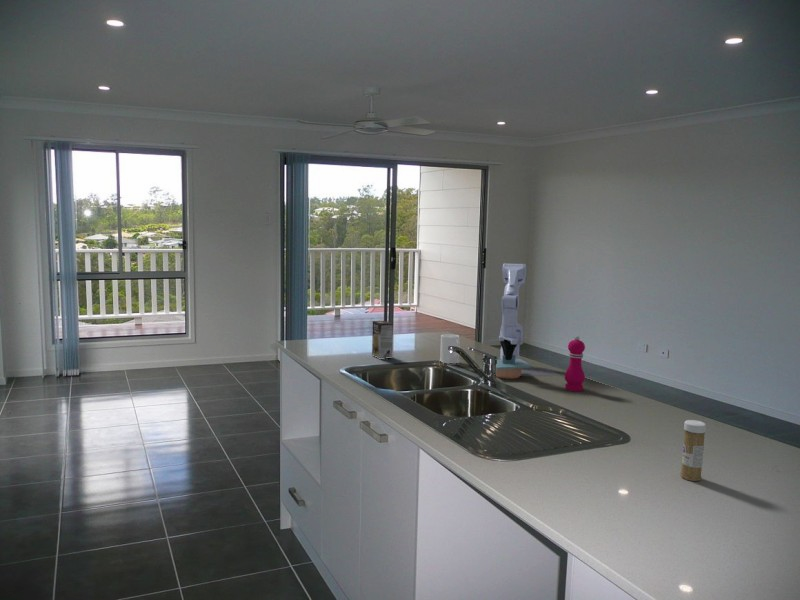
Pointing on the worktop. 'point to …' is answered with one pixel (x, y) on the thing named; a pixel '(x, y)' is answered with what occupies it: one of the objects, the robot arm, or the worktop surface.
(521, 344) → the robot arm
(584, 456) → the worktop surface
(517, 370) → the bowl
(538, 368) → the mat
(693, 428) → the sprinkles bottle
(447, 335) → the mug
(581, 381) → the pepper mill
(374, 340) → the coffee box
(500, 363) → the cover sheet
